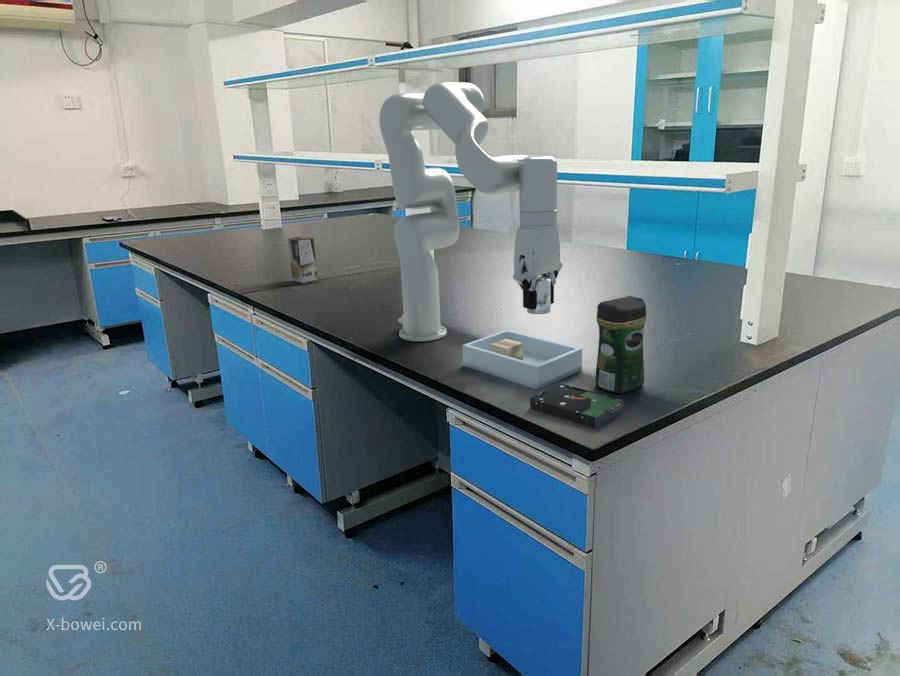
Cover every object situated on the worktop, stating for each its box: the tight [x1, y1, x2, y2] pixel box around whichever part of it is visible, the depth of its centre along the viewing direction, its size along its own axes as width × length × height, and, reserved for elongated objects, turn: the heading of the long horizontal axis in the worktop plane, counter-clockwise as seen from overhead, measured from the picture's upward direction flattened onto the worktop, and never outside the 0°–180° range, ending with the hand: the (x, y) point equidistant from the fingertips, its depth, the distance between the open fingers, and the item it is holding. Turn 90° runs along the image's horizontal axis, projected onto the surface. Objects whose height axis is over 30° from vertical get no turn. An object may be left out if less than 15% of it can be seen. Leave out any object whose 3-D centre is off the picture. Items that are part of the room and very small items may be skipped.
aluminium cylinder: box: [526, 275, 552, 315], centre depth 138 cm, size 5×5×7 cm
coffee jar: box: [594, 295, 647, 394], centre depth 132 cm, size 10×8×19 cm
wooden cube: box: [491, 339, 523, 360], centre depth 145 cm, size 5×5×5 cm
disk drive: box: [529, 382, 626, 430], centre depth 124 cm, size 10×3×15 cm
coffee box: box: [287, 235, 319, 282], centre depth 240 cm, size 9×6×16 cm
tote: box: [461, 329, 583, 391], centre depth 146 cm, size 22×15×5 cm
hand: (538, 304), depth 138 cm, fingers closed on aluminium cylinder, 5 cm apart
